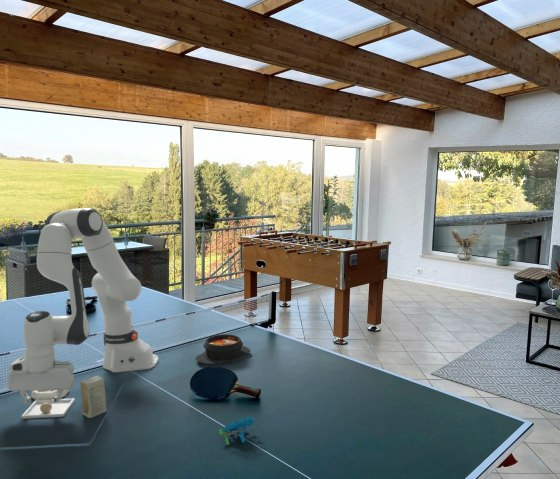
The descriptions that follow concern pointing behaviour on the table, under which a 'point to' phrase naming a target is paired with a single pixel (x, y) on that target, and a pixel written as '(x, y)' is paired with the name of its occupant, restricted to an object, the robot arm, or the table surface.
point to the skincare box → (93, 396)
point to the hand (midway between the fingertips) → (42, 402)
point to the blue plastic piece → (236, 428)
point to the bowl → (47, 394)
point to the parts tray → (57, 409)
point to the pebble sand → (46, 407)
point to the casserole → (222, 349)
